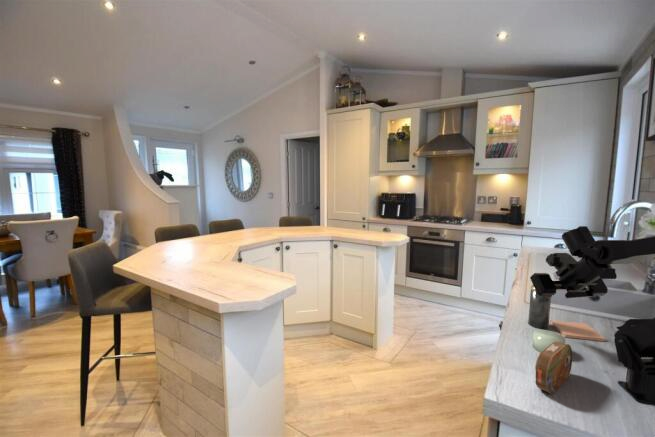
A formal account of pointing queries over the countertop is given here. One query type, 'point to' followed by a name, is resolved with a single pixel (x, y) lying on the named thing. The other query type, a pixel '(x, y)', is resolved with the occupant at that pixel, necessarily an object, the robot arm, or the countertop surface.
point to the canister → (539, 311)
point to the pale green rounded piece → (545, 339)
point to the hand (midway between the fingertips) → (551, 296)
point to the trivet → (577, 330)
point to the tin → (553, 366)
